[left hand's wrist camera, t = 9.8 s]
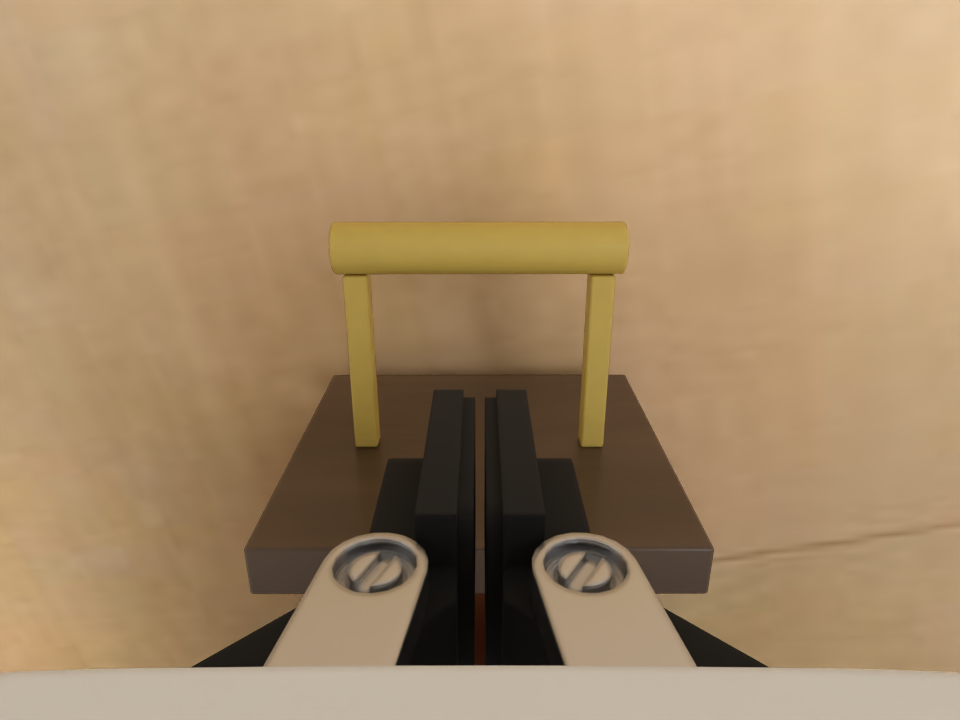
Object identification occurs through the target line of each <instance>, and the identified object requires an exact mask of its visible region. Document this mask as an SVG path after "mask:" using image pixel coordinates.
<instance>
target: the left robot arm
mask: <svg viewBox="0 0 960 720" xmlns="http://www.w3.org/2000/svg"><path fill="white" fill-rule="evenodd" d="M475 550H476V476H475V397H464V390H463V389H434V392H433V399H432V405H431V412H430V418H429V425H428V431H427V438H426V444H425V450H424V457H423V458H389V459H388V462H387V465H386V469H385V473H384V477H383V481H382V485H381V489H380V493H379V497H378V501H377V505H376V509H375V513H374V517H373V521H372V525H371V529H370V533H369V534H365V535H360V536H356V537H354V538H351V539H349V540H346V541H344V542H342V543H341V544H340V545H338V546H337V547H335V548H334V549H332V550H331V552H330V553H329V554H328V555H327V556H326V558H325V559H324V560H323V562H322V564H321V566H320V567H319V569H318V571H317V573H316V574H315V576H314V578H313V580H312V581H311V583H310V585H309V587H308V588H307V590H306V592H305V594H304V595H303V597H302V599H301V601H300V602H299V604H298V606H297V608H295V609H294V610H292V611H290V612H288V613H287V614H285V615H283V616H281V617H279V618H278V619H276V620H274V621H272V622H271V623H269V624H267V625H265V626H264V627H262V628H260V629H258V630H256V631H255V632H253V633H251V634H249V635H248V636H246V637H244V638H242V639H240V640H239V641H237V642H235V643H233V644H232V645H230V646H228V647H226V648H225V649H223V650H221V651H219V652H217V653H216V654H214V655H212V656H210V657H209V658H207V659H205V660H203V661H201V662H200V663H198V664H196V665H194V666H193V667H191V668H96V669H69V670H42V671H14V672H0V720H960V672H946V671H918V670H891V669H864V668H769V667H767V666H766V665H764V664H762V663H760V662H759V661H757V660H755V659H753V658H751V657H750V656H748V655H746V654H744V653H743V652H741V651H739V650H737V649H735V648H734V647H732V646H730V645H728V644H727V643H725V642H723V641H721V640H720V639H718V638H716V637H714V636H712V635H711V634H709V633H707V632H705V631H704V630H702V629H700V628H698V627H696V626H695V625H693V624H691V623H689V622H688V621H686V620H684V619H682V618H681V617H679V616H677V615H675V614H673V613H672V612H670V611H668V610H666V609H665V608H663V606H662V604H661V602H660V601H659V599H658V597H657V595H656V594H655V592H654V590H653V588H652V587H651V585H650V583H649V581H648V580H647V578H646V576H645V574H644V573H643V571H642V569H641V567H640V566H639V564H638V562H637V560H636V559H635V558H634V556H633V555H632V554H631V553H630V552H629V550H628V549H626V548H625V547H623V546H622V545H620V544H619V543H618V542H616V541H614V540H611V539H609V538H606V537H604V536H600V535H595V534H591V533H590V529H589V525H588V521H587V517H586V513H585V509H584V505H583V501H582V497H581V493H580V489H579V485H578V481H577V477H576V473H575V469H574V465H573V462H572V459H571V458H537V457H536V450H535V444H534V438H533V431H532V425H531V418H530V412H529V405H528V399H527V392H526V389H497V390H496V397H485V476H484V551H485V652H486V666H474V652H475Z"/></svg>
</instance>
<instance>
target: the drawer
mask: <svg viewBox="0 0 960 720" xmlns="http://www.w3.org/2000/svg"><path fill="white" fill-rule="evenodd" d="M628 255H629V234H628V229H627V225H626V223H624V222H334V223H332V225H331V228H330V233H329V257H330V263H331V267H332V270H333V272H334V273H335V274H345V275H344V276H343V290H344V303H345V316H346V329H347V342H348V355H349V368H350V375H335V376H333V378H332V380H331V382H330V384H329V386H328V388H327V390H326V392H325V394H324V396H323V398H322V400H321V402H320V404H319V406H318V407H317V409H316V411H315V413H314V415H313V417H312V419H311V421H310V423H309V425H308V427H307V429H306V431H305V433H304V435H303V436H302V438H301V440H300V442H299V444H298V446H297V448H296V450H295V452H294V454H293V456H292V458H291V460H290V462H289V464H288V465H287V467H286V469H285V471H284V473H283V475H282V477H281V479H280V481H279V483H278V485H277V487H276V489H275V491H274V493H273V495H272V496H271V498H270V500H269V502H268V504H267V506H266V508H265V510H264V512H263V514H262V516H261V518H260V520H259V522H258V524H257V525H256V527H255V529H254V531H253V533H252V535H251V537H250V539H249V541H248V543H247V545H246V547H245V549H244V551H245V558H246V564H247V571H248V577H249V584H250V590H251V593H253V594H305V592H306V590H307V588H308V587H309V585H310V583H311V581H312V580H313V578H314V576H315V574H316V573H317V571H318V569H319V567H320V566H321V564H322V562H323V560H324V559H325V558H326V556H327V555H328V554H329V553H330V552H331V550H332V549H334V548H335V547H337V546H338V545H340V544H341V543H342V542H344V541H346V540H349V539H351V538H354V537H356V536H360V535H365V534H369V533H370V529H371V525H372V521H373V517H374V513H375V509H376V505H377V501H378V497H379V493H380V489H381V485H382V481H383V477H384V473H385V469H386V465H387V462H388V459H389V458H423V457H424V450H425V444H426V438H427V431H428V425H429V418H430V412H431V405H432V399H433V392H434V389H463V390H464V397H475V476H476V550H475V652H474V666H486V652H485V551H484V476H485V397H496V390H497V389H526V392H527V399H528V405H529V412H530V418H531V425H532V431H533V438H534V444H535V450H536V457H537V458H571V459H572V462H573V465H574V469H575V473H576V477H577V481H578V485H579V489H580V493H581V497H582V501H583V505H584V509H585V513H586V517H587V521H588V525H589V529H590V533H591V534H595V535H600V536H604V537H606V538H609V539H611V540H614V541H616V542H618V543H619V544H620V545H622V546H623V547H625V548H626V549H628V550H629V552H630V553H631V554H632V555H633V556H634V558H635V559H636V560H637V562H638V564H639V566H640V567H641V569H642V571H643V573H644V574H645V576H646V578H647V580H648V581H649V583H650V585H651V587H652V588H653V590H654V592H655V594H698V593H707V591H708V585H709V579H710V572H711V565H712V559H713V552H714V548H713V546H712V544H711V542H710V540H709V538H708V536H707V534H706V532H705V530H704V528H703V526H702V525H701V523H700V521H699V519H698V517H697V515H696V513H695V511H694V509H693V507H692V505H691V503H690V501H689V499H688V497H687V495H686V493H685V491H684V489H683V487H682V486H681V484H680V482H679V480H678V478H677V476H676V474H675V472H674V470H673V468H672V466H671V464H670V462H669V460H668V458H667V456H666V454H665V452H664V450H663V449H662V447H661V445H660V443H659V441H658V439H657V437H656V435H655V433H654V431H653V429H652V427H651V425H650V423H649V421H648V419H647V417H646V415H645V413H644V412H643V410H642V408H641V406H640V404H639V402H638V400H637V398H636V396H635V394H634V392H633V390H632V388H631V386H630V384H629V382H628V380H627V378H626V376H625V375H608V371H609V358H610V344H611V331H612V317H613V303H614V290H615V276H614V275H613V274H622V273H624V271H625V269H626V266H627V262H628ZM370 274H588V278H587V295H586V312H585V330H584V347H583V364H582V375H376V360H375V343H374V327H373V311H372V295H371V278H370Z"/></svg>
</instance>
